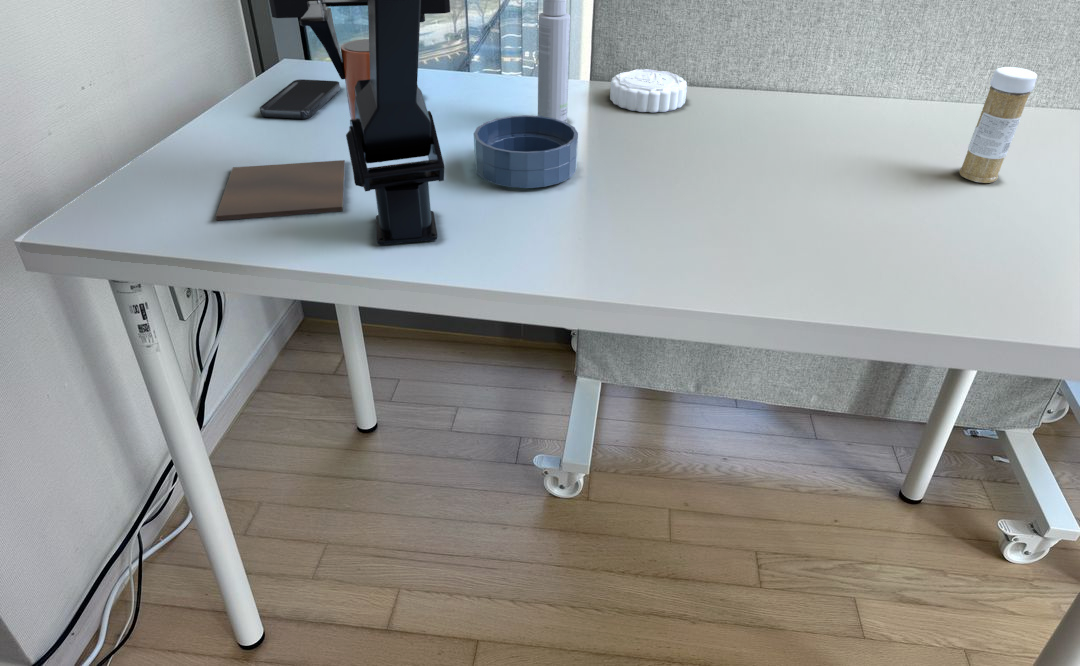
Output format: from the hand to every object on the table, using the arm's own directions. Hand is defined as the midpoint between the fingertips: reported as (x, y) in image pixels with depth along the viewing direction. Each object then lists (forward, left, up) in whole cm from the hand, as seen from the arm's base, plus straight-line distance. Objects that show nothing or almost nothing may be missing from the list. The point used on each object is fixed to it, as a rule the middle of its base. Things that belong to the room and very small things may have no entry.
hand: (371, 77), depth 86 cm
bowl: (+1, -18, -13) cm, 22 cm away
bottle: (+18, -25, -13) cm, 33 cm away
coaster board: (0, +12, -13) cm, 18 cm away
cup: (0, 0, -4) cm, 5 cm away
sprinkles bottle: (-11, -75, -13) cm, 77 cm away
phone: (+33, +12, -13) cm, 37 cm away
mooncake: (+25, -42, -13) cm, 51 cm away
